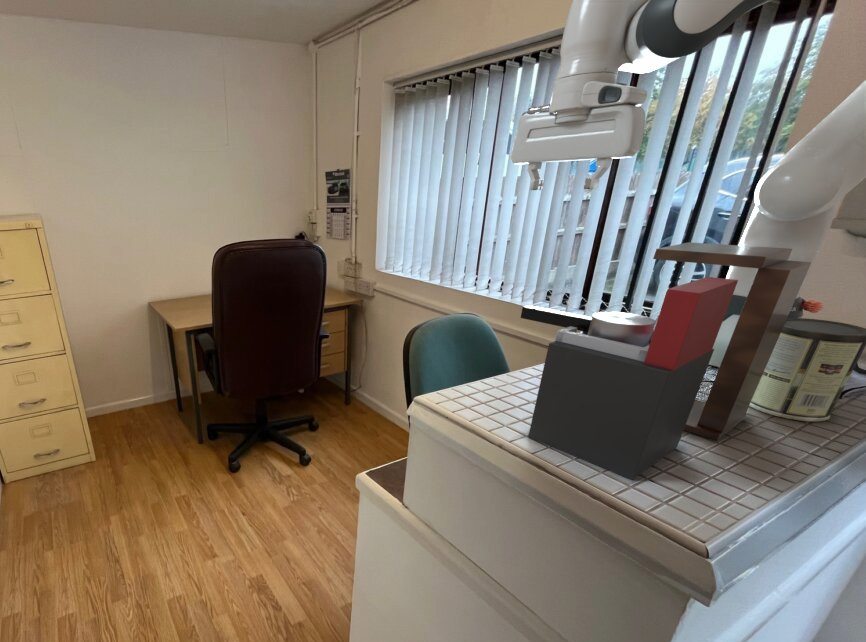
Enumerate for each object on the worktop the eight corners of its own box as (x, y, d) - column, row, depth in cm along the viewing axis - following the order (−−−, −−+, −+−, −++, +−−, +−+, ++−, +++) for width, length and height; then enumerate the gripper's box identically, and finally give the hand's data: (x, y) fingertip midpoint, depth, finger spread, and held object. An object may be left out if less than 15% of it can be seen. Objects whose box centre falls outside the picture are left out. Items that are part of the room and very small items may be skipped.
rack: (608, 406, 78) (655, 248, 68) (640, 389, 84) (688, 242, 74) (717, 440, 67) (793, 258, 57) (744, 418, 73) (818, 250, 63)
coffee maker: (527, 436, 70) (563, 277, 60) (575, 412, 77) (614, 265, 67) (632, 480, 59) (696, 294, 49) (676, 447, 66) (741, 279, 56)
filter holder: (509, 326, 71) (513, 303, 70) (534, 318, 75) (539, 297, 74) (633, 354, 58) (641, 328, 57) (657, 344, 62) (665, 319, 60)
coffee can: (773, 392, 82) (809, 315, 76) (847, 418, 72) (894, 332, 67) (724, 398, 80) (757, 319, 74) (794, 425, 71) (837, 338, 65)
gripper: (511, 107, 83) (498, 191, 88) (642, 86, 67) (616, 189, 73) (530, 109, 86) (516, 190, 92) (660, 90, 70) (634, 188, 76)
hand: (562, 189), depth 82 cm, fingers open, 8 cm apart
